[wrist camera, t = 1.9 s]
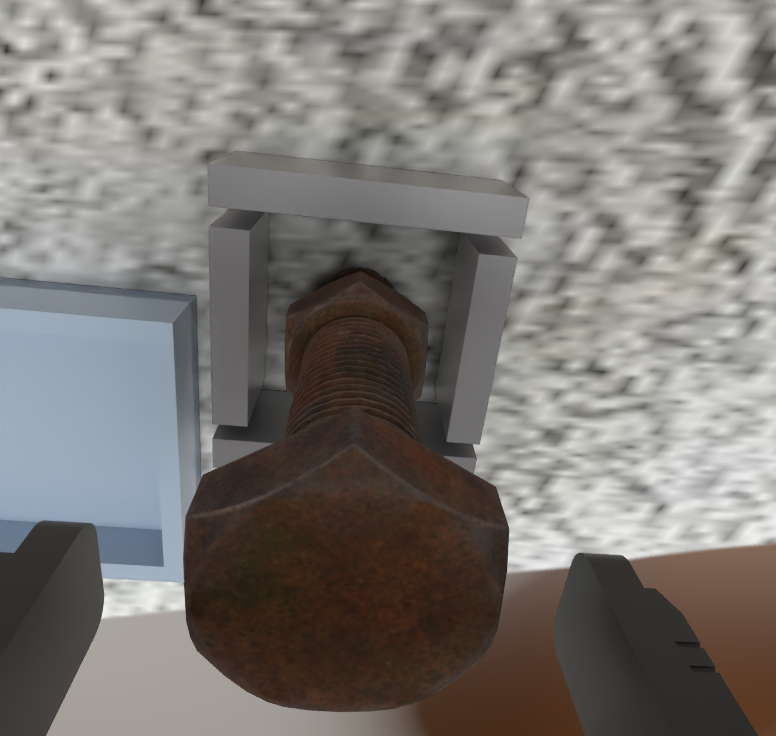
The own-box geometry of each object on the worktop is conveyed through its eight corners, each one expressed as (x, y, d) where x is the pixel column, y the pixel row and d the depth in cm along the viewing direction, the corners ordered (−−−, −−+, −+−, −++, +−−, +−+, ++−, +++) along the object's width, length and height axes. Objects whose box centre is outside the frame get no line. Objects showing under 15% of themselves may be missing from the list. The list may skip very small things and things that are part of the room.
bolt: (260, 317, 23) (106, 639, 9) (328, 208, 21) (261, 408, 8) (383, 390, 25) (404, 757, 11) (456, 293, 23) (587, 585, 9)
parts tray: (196, 295, 23) (172, 323, 20) (202, 534, 27) (184, 582, 25) (-184, 260, 22) (-262, 284, 19) (-107, 514, 26) (-162, 563, 24)
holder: (501, 180, 21) (529, 198, 18) (456, 429, 26) (471, 485, 22) (235, 150, 20) (207, 163, 17) (235, 412, 25) (213, 467, 21)
